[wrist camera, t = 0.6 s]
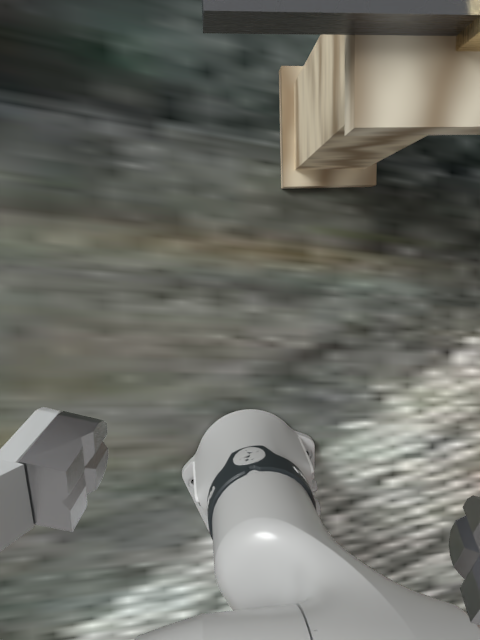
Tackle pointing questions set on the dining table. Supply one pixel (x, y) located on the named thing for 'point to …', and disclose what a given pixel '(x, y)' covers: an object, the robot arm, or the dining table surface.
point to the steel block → (347, 18)
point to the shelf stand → (371, 104)
